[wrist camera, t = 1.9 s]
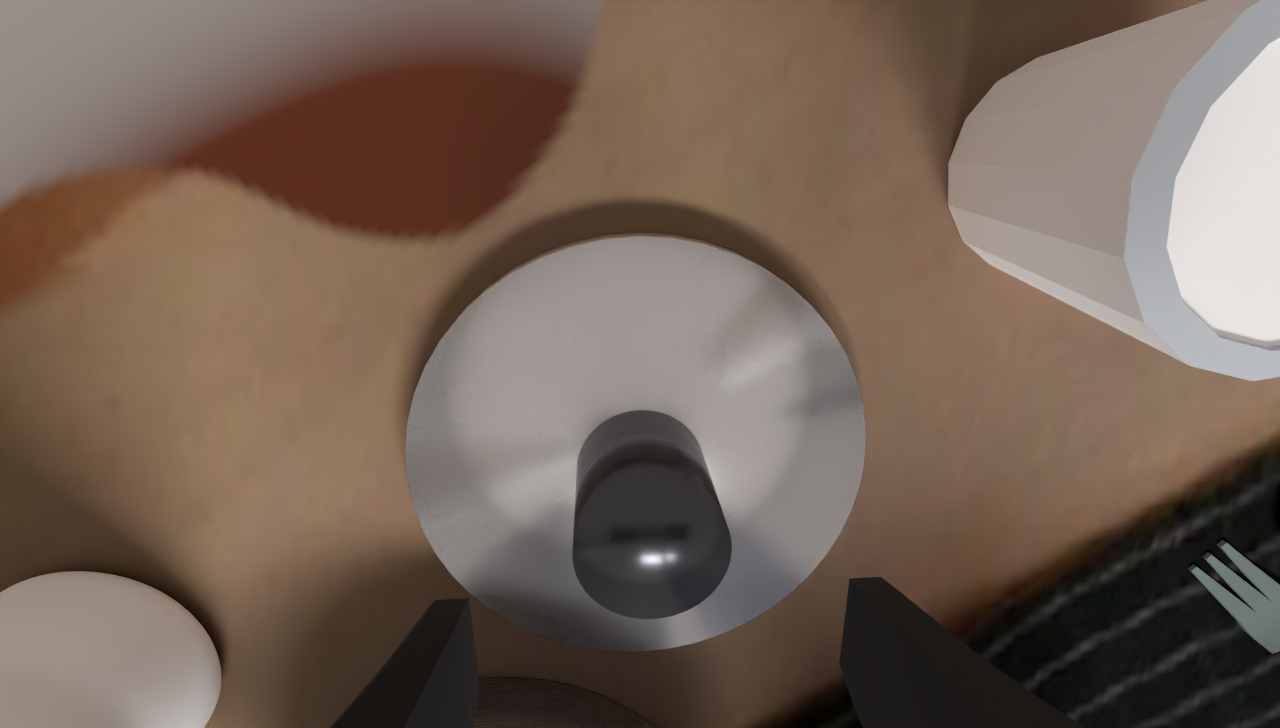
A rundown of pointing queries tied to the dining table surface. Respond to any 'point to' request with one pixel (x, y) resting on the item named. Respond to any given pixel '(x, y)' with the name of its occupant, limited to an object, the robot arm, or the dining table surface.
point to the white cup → (1142, 182)
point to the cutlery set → (1246, 597)
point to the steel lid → (635, 443)
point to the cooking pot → (547, 706)
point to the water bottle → (102, 656)
